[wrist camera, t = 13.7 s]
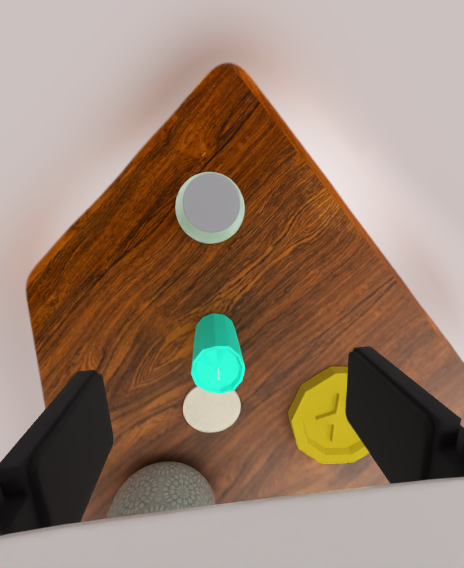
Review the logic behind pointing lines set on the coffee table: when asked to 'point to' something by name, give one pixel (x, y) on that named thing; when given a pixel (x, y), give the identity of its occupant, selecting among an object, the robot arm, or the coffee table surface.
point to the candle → (217, 355)
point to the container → (211, 202)
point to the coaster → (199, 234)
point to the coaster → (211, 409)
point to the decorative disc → (325, 419)
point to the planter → (161, 490)
